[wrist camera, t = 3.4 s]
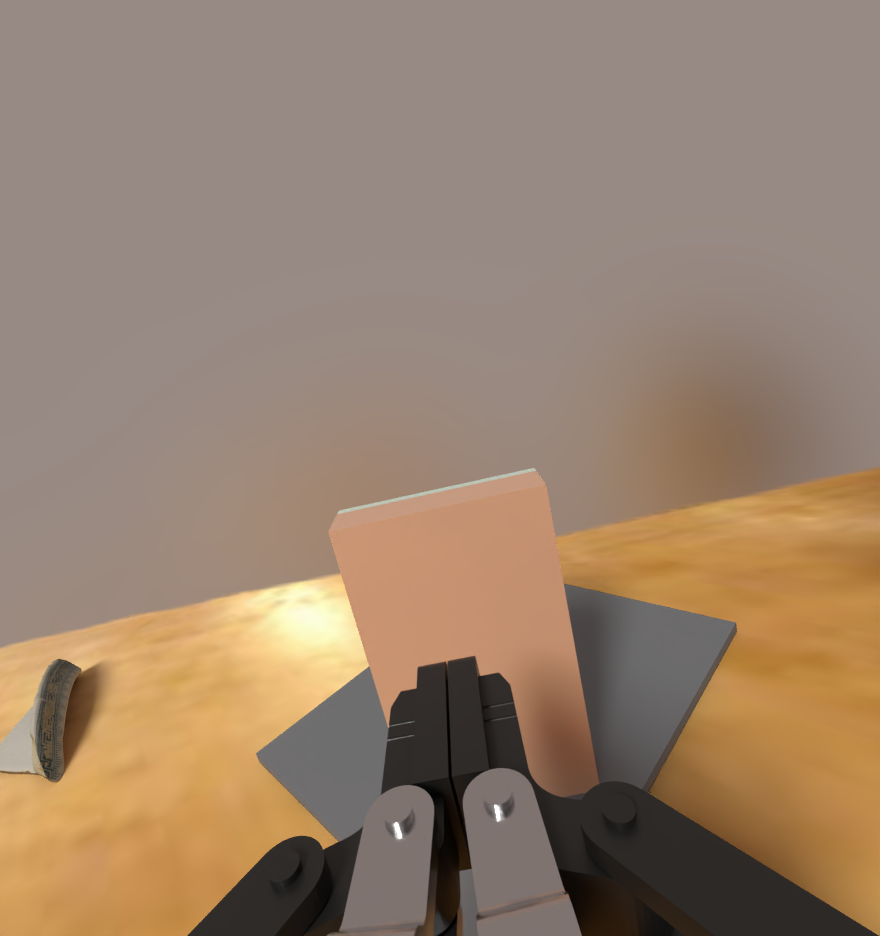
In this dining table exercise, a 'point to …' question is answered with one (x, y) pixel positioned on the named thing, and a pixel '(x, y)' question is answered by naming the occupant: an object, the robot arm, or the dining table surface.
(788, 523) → the dining table surface
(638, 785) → the mat
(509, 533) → the tile
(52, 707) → the ceramic fragment
